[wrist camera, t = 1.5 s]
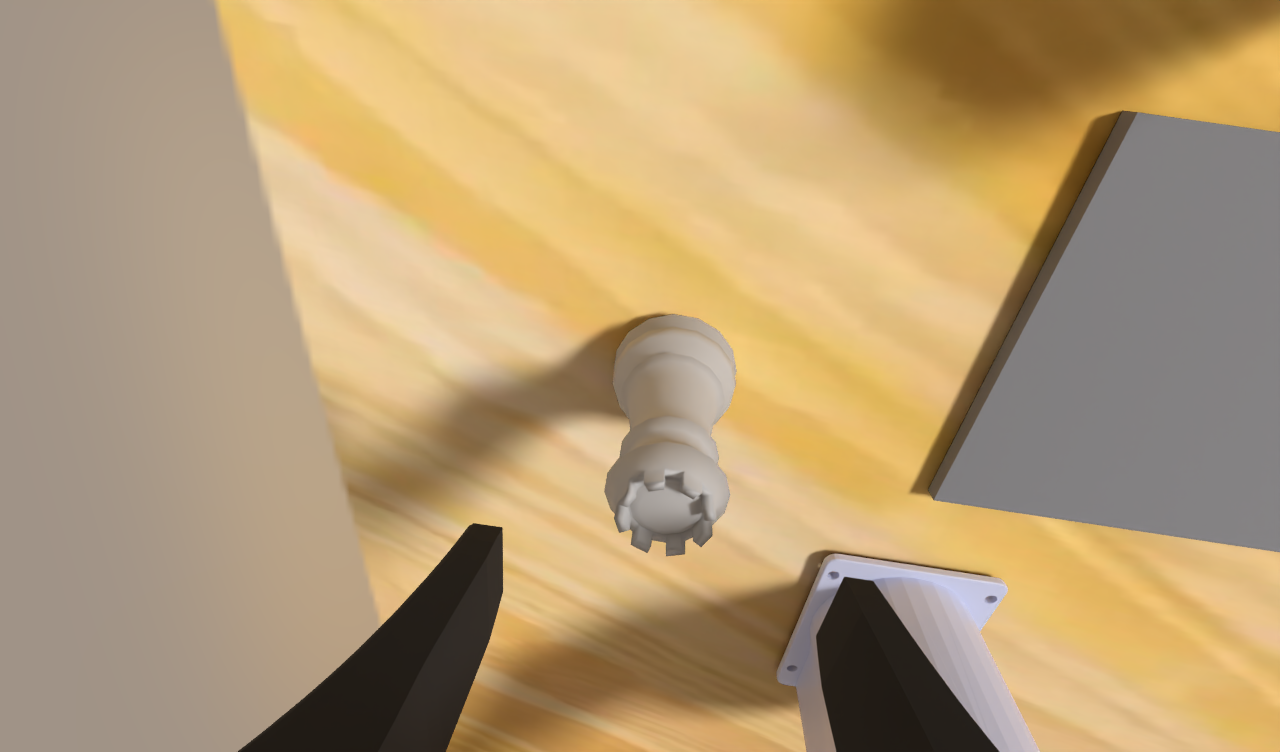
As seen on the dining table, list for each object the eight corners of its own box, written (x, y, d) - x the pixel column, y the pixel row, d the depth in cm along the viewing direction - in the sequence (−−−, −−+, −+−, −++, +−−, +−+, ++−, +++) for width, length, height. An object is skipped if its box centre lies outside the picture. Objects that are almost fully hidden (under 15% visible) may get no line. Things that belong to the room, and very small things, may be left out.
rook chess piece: (738, 307, 19) (763, 448, 12) (733, 414, 21) (752, 585, 14) (611, 309, 19) (565, 445, 13) (619, 414, 22) (584, 578, 15)
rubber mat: (1273, 541, 22) (1287, 553, 22) (928, 490, 22) (933, 500, 22) (1633, 182, 15) (1665, 187, 15) (1122, 111, 15) (1137, 112, 15)
